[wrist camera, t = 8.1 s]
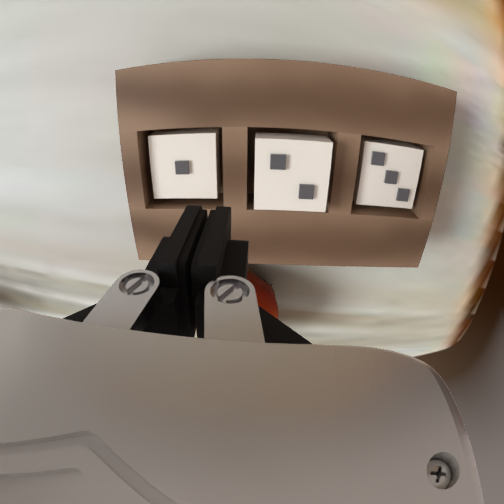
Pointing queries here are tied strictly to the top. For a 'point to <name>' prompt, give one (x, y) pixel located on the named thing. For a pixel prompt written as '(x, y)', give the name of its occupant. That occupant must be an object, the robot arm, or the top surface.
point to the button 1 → (185, 163)
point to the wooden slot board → (293, 122)
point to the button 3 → (387, 173)
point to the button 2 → (291, 171)
